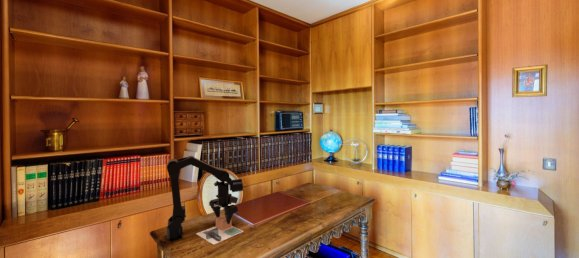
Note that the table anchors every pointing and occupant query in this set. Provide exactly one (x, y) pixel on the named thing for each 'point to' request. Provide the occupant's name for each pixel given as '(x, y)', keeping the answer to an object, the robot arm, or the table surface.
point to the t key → (213, 234)
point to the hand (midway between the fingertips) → (223, 221)
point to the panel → (220, 234)
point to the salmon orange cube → (222, 223)
